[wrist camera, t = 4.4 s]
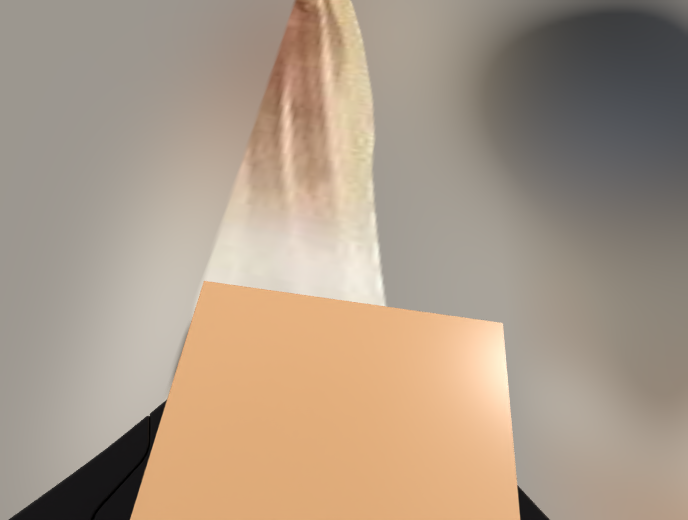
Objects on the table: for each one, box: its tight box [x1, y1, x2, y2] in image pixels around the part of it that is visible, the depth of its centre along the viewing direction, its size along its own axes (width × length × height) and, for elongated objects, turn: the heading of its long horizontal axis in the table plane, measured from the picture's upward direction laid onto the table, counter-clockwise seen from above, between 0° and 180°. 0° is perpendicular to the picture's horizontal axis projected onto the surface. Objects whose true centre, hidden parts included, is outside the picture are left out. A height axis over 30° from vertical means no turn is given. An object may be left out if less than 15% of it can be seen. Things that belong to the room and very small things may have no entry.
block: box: [130, 281, 520, 520], centre depth 8 cm, size 4×4×12 cm
